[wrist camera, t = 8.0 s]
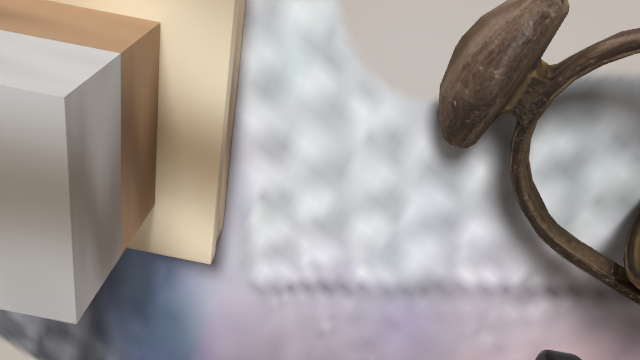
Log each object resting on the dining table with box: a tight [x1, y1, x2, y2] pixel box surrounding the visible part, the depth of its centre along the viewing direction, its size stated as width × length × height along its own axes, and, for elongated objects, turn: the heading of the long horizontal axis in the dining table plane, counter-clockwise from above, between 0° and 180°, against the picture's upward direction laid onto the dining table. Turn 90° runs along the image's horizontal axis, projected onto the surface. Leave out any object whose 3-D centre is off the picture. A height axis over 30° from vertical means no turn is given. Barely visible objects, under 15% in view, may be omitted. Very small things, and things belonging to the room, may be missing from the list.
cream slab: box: [48, 0, 246, 264], centre depth 19 cm, size 10×9×2 cm
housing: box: [0, 0, 160, 324], centre depth 16 cm, size 6×5×6 cm
